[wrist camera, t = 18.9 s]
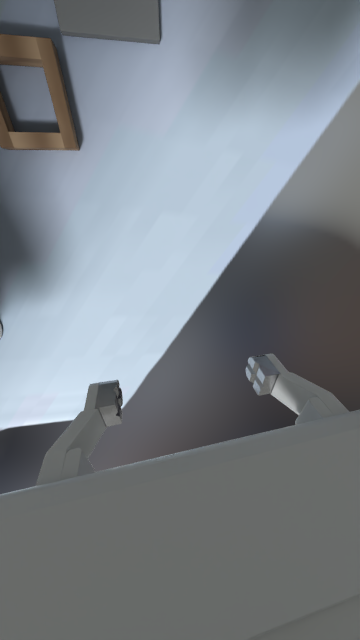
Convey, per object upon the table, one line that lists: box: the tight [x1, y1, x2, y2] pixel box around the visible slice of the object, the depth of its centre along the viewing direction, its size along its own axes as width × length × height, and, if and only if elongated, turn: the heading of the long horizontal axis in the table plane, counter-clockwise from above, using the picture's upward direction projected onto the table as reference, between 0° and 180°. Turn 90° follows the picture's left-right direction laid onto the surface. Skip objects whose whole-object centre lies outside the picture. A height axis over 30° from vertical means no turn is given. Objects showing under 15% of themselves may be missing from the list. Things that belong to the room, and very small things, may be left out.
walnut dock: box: [0, 34, 80, 150], centre depth 24 cm, size 9×9×2 cm
